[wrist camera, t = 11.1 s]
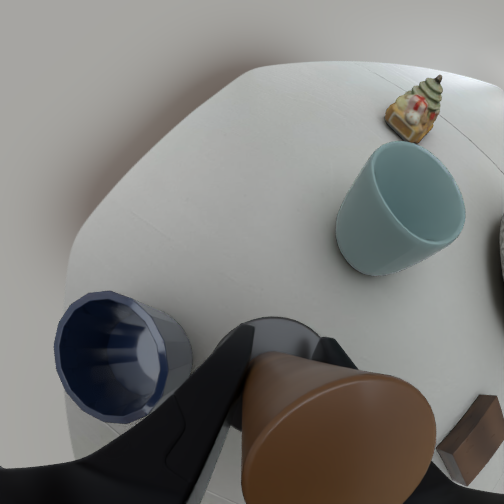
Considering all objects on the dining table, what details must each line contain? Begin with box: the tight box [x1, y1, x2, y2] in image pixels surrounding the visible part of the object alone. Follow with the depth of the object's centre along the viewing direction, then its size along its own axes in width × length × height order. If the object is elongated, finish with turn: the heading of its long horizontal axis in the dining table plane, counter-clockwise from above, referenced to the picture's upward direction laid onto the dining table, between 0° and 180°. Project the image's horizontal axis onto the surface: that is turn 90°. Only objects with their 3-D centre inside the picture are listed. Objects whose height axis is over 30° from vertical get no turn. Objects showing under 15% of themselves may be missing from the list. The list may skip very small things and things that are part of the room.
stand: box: [436, 395, 504, 486], centre depth 15 cm, size 8×8×3 cm
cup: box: [335, 141, 465, 276], centre depth 19 cm, size 8×8×10 cm
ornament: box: [385, 75, 443, 143], centre depth 24 cm, size 8×6×10 cm
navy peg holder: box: [54, 291, 193, 424], centre depth 16 cm, size 8×8×8 cm
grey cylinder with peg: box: [214, 317, 436, 504], centre depth 7 cm, size 4×4×11 cm
